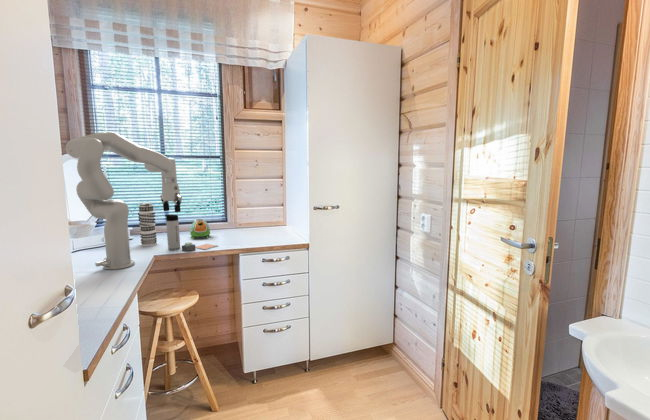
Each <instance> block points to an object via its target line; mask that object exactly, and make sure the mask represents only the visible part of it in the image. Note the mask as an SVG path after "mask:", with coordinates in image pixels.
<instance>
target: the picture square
mask: <svg viewBox="0 0 650 420" xmlns="http://www.w3.org/2000/svg"><path fill="white" fill-rule="evenodd" d="M217 247H218V245H217V244H216V245H215V244H210V243H209V244H208V243H205V244H201V245H197V246H195V249H197V250H204V251H206V250H210V249H213V248H217Z"/></svg>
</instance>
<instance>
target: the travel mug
mask: <svg viewBox="0 0 650 420" xmlns="http://www.w3.org/2000/svg"><path fill="white" fill-rule="evenodd" d="M164 216H165V220H166V221H165V223H166V236H167V239H166V240H167V249H168V251H179V250H180V249H181V241H180V240H181V237H180V224H179V215H178V214H165V215H164Z"/></svg>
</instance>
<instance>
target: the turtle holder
mask: <svg viewBox="0 0 650 420" xmlns="http://www.w3.org/2000/svg"><path fill="white" fill-rule="evenodd" d="M189 228H190V229H189V234H190V238H192V239H193V240H196V237H197V238H198V237H205V239H209V236H210V235H211V228H210V225H209V223H208V221H206V220H205V219H204V218H197V219H194V221H193V222H192V223H191V225H190V227H189Z"/></svg>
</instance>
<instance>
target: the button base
mask: <svg viewBox="0 0 650 420" xmlns="http://www.w3.org/2000/svg"><path fill="white" fill-rule="evenodd" d="M195 247H196V244H193V243H192V246H185V244H183V245H181V251H182V252H186V253H189V252H193V251H196V248H195Z"/></svg>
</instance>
